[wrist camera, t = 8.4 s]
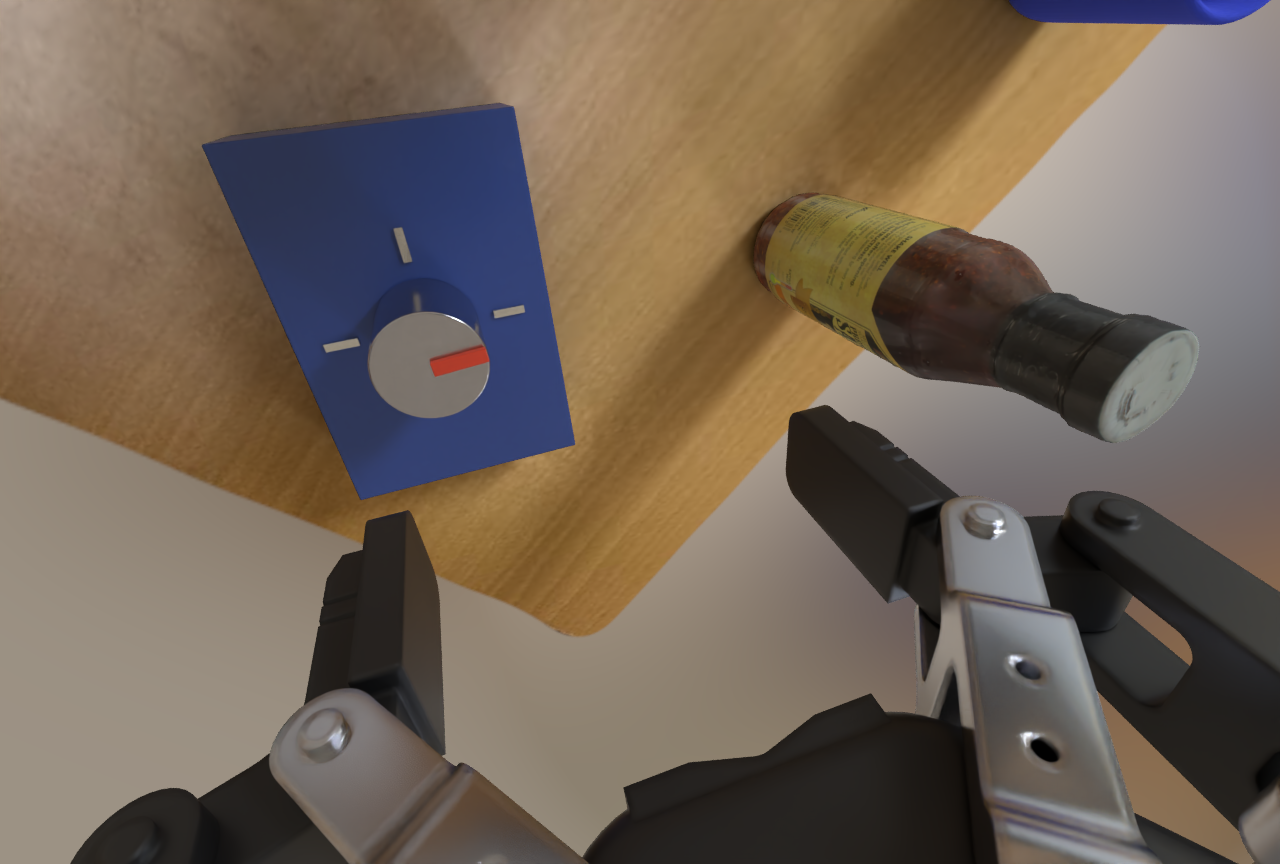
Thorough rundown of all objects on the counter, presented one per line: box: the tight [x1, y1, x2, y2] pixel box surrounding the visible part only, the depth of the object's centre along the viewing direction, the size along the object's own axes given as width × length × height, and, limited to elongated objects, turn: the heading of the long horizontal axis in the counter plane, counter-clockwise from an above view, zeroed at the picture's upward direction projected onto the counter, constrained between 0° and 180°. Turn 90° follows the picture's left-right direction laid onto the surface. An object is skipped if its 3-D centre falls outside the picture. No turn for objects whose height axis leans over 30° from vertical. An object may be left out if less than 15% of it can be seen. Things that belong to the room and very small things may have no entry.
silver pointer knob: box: [367, 278, 490, 418], centre depth 24 cm, size 4×4×5 cm
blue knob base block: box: [202, 103, 575, 500], centre depth 28 cm, size 16×11×4 cm
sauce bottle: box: [754, 193, 1199, 443], centre depth 26 cm, size 6×6×20 cm
